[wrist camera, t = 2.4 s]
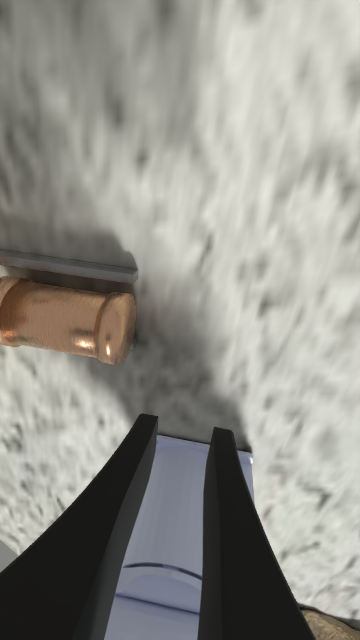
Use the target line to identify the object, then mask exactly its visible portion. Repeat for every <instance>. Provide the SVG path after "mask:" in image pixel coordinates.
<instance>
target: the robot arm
mask: <svg viewBox="0 0 360 640" xmlns="http://www.w3.org/2000/svg"><path fill="white" fill-rule="evenodd" d="M157 427H158V416H153V415H148V414H143V413H142V414H140V415H139V416H138V418H137V420H136V422H135V423H134V425H133V427H132V428H131V430H130V431H129V433H128V434H127V436H126V437H125V439H124V440H123V442H122V443H121V444H120V446H119V447H118V448H117V450H116V451H115V452H114V454H113V455H112V456H111V458H110V459H109V460H108V462H107V463H106V464H105V466H104V467H103V468H102V469H101V471H100V472H99V473H98V474H97V475H96V477H95V478H94V479H93V480H92V481H91V482H90V484H89V485H88V486H87V487H86V488H85V490H84V491H83V492H82V493H81V494H80V495H79V496H78V497H77V499H76V500H75V501H74V502H73V503H72V504H71V505H70V506H69V507H68V508H67V509H66V510H65V511H64V513H63V514H62V515H61V516H60V517H59V518H58V519H57V520H56V521H55V522H54V523H53V524H52V525H51V526H50V527H49V528H48V529H47V530H46V531H45V532H44V533H43V534H42V535H41V536H40V537H39V538H38V539H37V540H36V541H35V542H34V543H32V544H31V545H30V546H29V547H28V548H27V549H26V550H25V551H24V552H23V553H22V554H21V555H20V556H19V557H18V558H16V559H15V560H14V561H13V562H12V563H11V564H10V565H9V566H7V567H6V568H5V569H4V570H3V571H2V572H1V573H0V640H316V638H315V636H314V634H313V632H312V631H311V629H310V627H309V625H308V623H307V621H306V619H305V617H304V615H303V613H302V611H301V609H300V608H299V606H298V604H297V602H296V600H295V598H294V596H293V594H292V592H291V589H290V587H289V585H288V583H287V581H286V579H285V577H284V575H283V573H282V571H281V568H280V566H279V564H278V562H277V560H276V557H275V555H274V553H273V551H272V548H271V546H270V544H269V541H268V539H267V536H266V534H265V532H264V529H263V527H262V524H261V522H260V519H259V516H258V514H257V511H256V509H255V504H254V491H253V478H252V462H253V455H252V454H251V453H249V452H244V451H239V450H237V448H236V444H235V439H234V433H233V432H232V431H231V430H228V429H222V428H217V427H214V430H213V434H212V439H211V443H210V445H208V444H202V443H197V442H192V441H187V440H182V439H177V438H172V437H166V436H161V435H157Z"/></svg>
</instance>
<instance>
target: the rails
mask: <svg viewBox="0 0 360 640" xmlns="http://www.w3.org/2000/svg"><path fill="white" fill-rule="evenodd" d="M0 264H1V265H8V266H14V267H21V268H28V269H35V270H41V271H48V272H55V273H62V274H68V275H75V276H82V277H89V278H95V279H102V280H109V281H116V282H122V283H129V284H134V283H135V281H136V280H137V279H138V269H132V268H125V267H118V266H111V265H104V264H97V263H90V262H83V261H76V260H70V259H63V258H56V257H49V256H42V255H35V254H28V253H21V252H14V251H7V250H0ZM136 343H137V336H134V337H133V341H132V345H131V348H130V350H131V351H133V349H134V347H135V345H136Z"/></svg>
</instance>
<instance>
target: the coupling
mask: <svg viewBox="0 0 360 640" xmlns="http://www.w3.org/2000/svg"><path fill="white" fill-rule="evenodd" d="M135 326H136V303H135V299H134V297H133V295H132V294H127V293H120V292H111V293H110V294H105V293H99V292H92V291H86V290H79V289H72V288H66V287H59V286H53V285H46V284H40V283H34V282H33V281H32V280H30V279H27V278H21V277H15V276H4V277H1V278H0V345H5V346H11V347H18V346H21V345H24V346H30V347H36V348H42V349H47V350H53V351H59V352H65V353H70V354H76V355H82V356H88V357H94V358H98V360H99V361H100V362H103V363H108V364H114V365H121V364H122V363H123V362H124V360H125V359H126V357H127V355H128V353H129V351H130V348H131V345H132V341H133V337H134V333H135Z"/></svg>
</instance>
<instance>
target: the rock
mask: <svg viewBox="0 0 360 640" xmlns="http://www.w3.org/2000/svg"><path fill="white" fill-rule="evenodd" d="M301 611H302V613H303V615H304V617H305V619H306V621H307V623H308V625H309V627H310V629H311V631H312V632H313V634H314V636H315V638H316V640H360V631H358V630H356V629H352V628H350V627H349V626H348V625H346V624H344V623H343V622H340V621H338V620H337V619H335V618H333V617H330V616H327V615H323V614H321V613H318V612H316V611H313V610H307V609H305V610H301Z"/></svg>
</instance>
